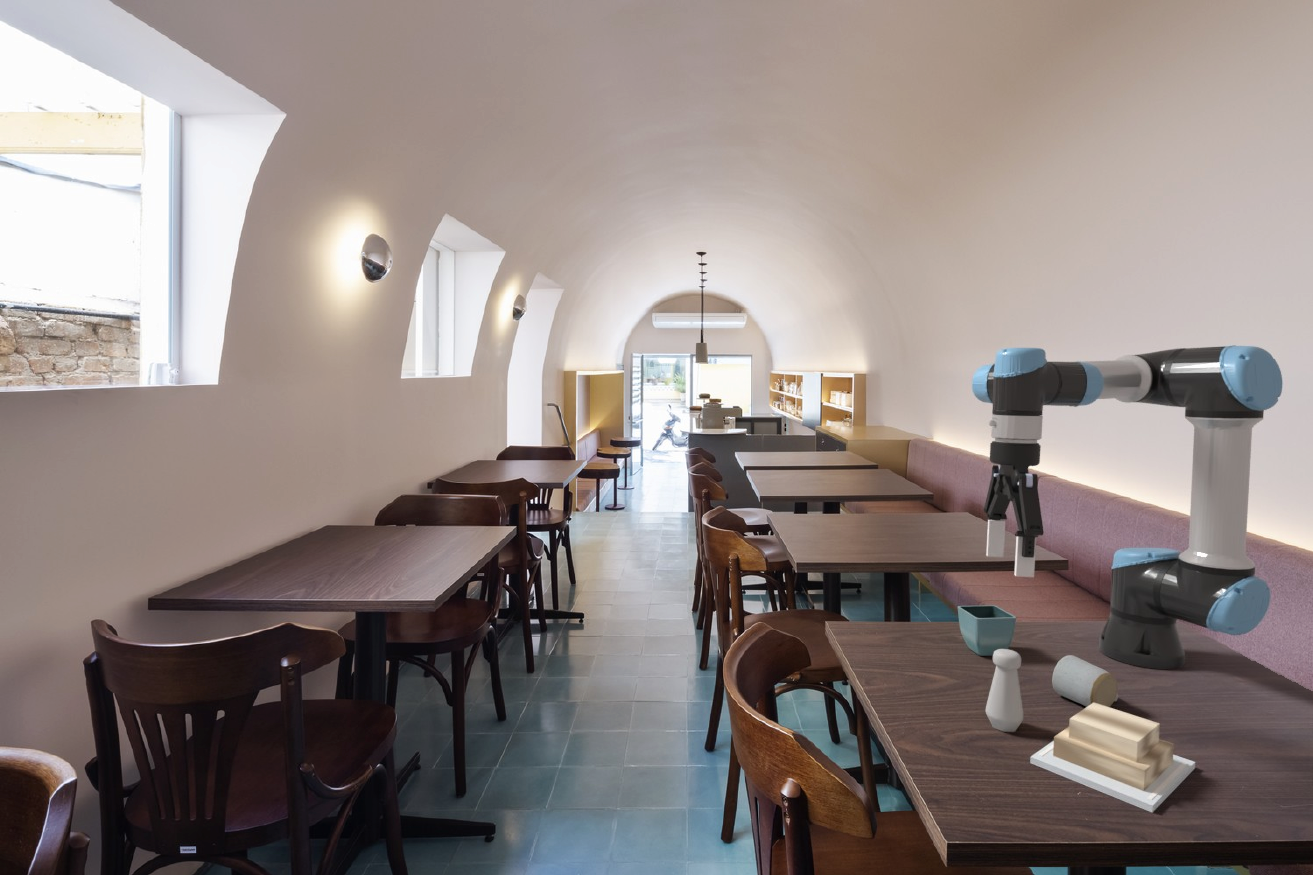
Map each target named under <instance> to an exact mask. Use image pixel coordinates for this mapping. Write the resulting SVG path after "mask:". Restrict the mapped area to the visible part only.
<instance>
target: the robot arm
mask: <svg viewBox="0 0 1313 875" xmlns="http://www.w3.org/2000/svg"><path fill="white" fill-rule="evenodd" d="M995 354H996V355H995V358H994V359H995V360H994V363H990V364H989V363H988V364H985V365H982V366H980V367H978V369H977V370H975V372H974V373H973V376H972V380H971V390H972V393H973V395H974V396H975V398H977V400H979V401H981V402H982V403H987V404H988V403H989V404H992V412H991V413H992V416H991V420H989V421H988V426H990V427H991V431H990V432H991V437H992V439H994V440H992V441H991V443H990V445H989V447H990V448H989V461H990V463H992V464H993V465H992V466H991V476H990V477H991V478H990V482H989V485H988V488H987V489H988V490H987V495H986V498H985V502H984V507H983V513H984V514H986V519H987V532H986V533H987V535H986V553H985V556H986V557H988V558H989V557H992V558H993V557H995V558H1004V557H1005V556H1004V554H1005V539H1006V536H1005V535H1006V520H1008V515H1007V513H1006V512H1007V510H1008V508H1009V505H1010V503H1011V504H1012V507H1013V512H1014V516H1015V520H1016V524H1017V528H1018V530H1016V531H1015V533H1014V536H1015V540H1016V541H1015V554H1014V555H1015V558H1014V576H1015V577H1019V578H1021V577H1023V578H1035V569H1036V568H1035V567H1036V566H1035V565H1036V549H1037V548H1036V545H1037V538H1038V537H1039V536H1041V537H1042V536H1043V535H1044V533H1045V532H1044V525H1043V518H1042V511H1041V509H1042V508H1041V504H1040V496H1039V490H1038V489H1039V488H1038V487H1039V486H1038V484H1039V482H1038V481H1039V477H1038V474H1037V473H1029V468H1030V467H1035V466H1036V467H1037V466H1038V465H1039V464H1040V462H1041V448H1042V447H1041V445H1040V443H1038V441H1039V440H1041V439H1042V438H1043V436H1042V434H1043V411H1044V406H1057V407H1062V406H1063V407H1074V408H1077V407H1079V406H1088V405H1091V404H1092V403H1094V402H1096V401H1097V400H1110V399H1111V400H1112V399H1116V400H1117V401H1119V402H1121V403H1126V404H1129V403H1139V404H1140V403H1141V404H1148V405H1149V404H1150V405H1160V406H1165V407H1174V408H1175V407H1176V408H1184V410H1185V411H1184V418H1185V419H1186V420H1187V421H1188V422H1189V423H1190V424H1191V425H1193V450H1192V469H1191V488H1190V489H1191V491H1190V493H1191V494H1190V509H1189V510H1190V511H1189V512H1190V513H1189V515H1190V516H1189V533H1188V534H1189V535H1188V548H1186V550H1184V551H1183V552H1180V551H1179V550H1177V549H1174V548H1173V549H1172V548H1164V547H1146V546H1145V547H1124V548H1123V547H1122V548H1121V549H1118V550H1116V551H1115V552H1114V554H1113V560H1112V566H1111V567H1110V568H1111V584H1110V585H1111V587H1110V609H1109V610H1110V612H1109V616H1108V619H1107V621H1106V623H1105V626H1103V630H1102V632H1101V634H1100V636H1099V639H1098V650H1099V651H1100V652H1101V653H1102V654H1103V655H1105V656H1106V657H1109V658H1111V659H1113V660H1115V661H1118V662H1121V663H1124V664H1128V665H1132V666H1137V667H1142V668H1147V669H1149V668H1150V669H1157V670H1173V669H1178V668H1179V669H1180V668H1181V667H1184V666H1185V662H1186V660H1185V659H1186V653H1185V650H1184V647H1183V643H1182V640H1181V636H1180V634H1179V631H1178V626H1177V620H1180V621H1183V622H1187V623H1189V624H1191V625H1192V624H1193V625H1195V626H1199V627H1202V628H1205V629H1208V630H1209V631H1213V632H1215V633H1223V634H1227V635H1230V636H1242V635H1245V634H1248V633H1250V632H1251V631H1253V630H1255V628H1257V627H1258V626H1259V624H1260V623H1261V622H1262V621H1263V620H1264V618H1265V616H1266V614H1267V612H1268V610H1269V606H1270V602H1271V590H1270V587H1269V585H1268V583H1267V582H1266V581H1265V580H1264V579H1262V578H1261V577H1258V576H1256V575H1255V574H1256V573H1255V572H1256V563H1255V562H1254V561H1253V560H1252V559H1250V557H1249V556H1247V554H1246V551H1247V550H1246V547H1247V545H1246V544H1247V532H1248V530H1247V528H1248V513H1249V512H1248V511H1249V495H1250V494H1249V492H1250V491H1249V490H1250V476H1251V475H1250V474H1251V473H1250V471H1251V454H1252V453H1251V452H1252V438H1253V436H1252V434H1253V428H1254V427H1255V426H1256V425H1257V424H1259V423H1260V422H1261V421H1262V420H1264V411H1267V410H1269V409H1271V408H1273V407H1275V405H1276V404H1277V403H1278V402H1279V398H1280V397H1281V395H1282V393H1283V376H1282V375H1283V374H1282V371H1281V368H1280V366H1279V364H1278V361H1277V360H1276V359H1275V358H1274V356H1273V355H1272V354H1271V353H1270V352H1269V351H1267V350H1266V349H1264V348H1262V347H1258V346H1254V345H1253V346H1252V345H1226V346H1224V345H1223V346H1208V347H1207V346H1206V347H1190V348H1186V347H1185V348H1181V347H1180V348H1172V349H1165V350H1160V351H1153V352H1149V353H1148V352H1147V353H1139V354H1127V355H1122V356H1119V357H1118V358H1116V359H1115V360H1090V361H1089V360H1085V361H1081V360H1080V361H1079V360H1078V361H1048V360H1047V359H1046V358H1047V356H1046V355H1047V354H1046V351H1045V350H1044V349H1043V348H1040V347H1006V348H1001V349H999V350H998V351H997V352H996V353H995Z"/></svg>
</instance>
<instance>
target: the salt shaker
mask: <svg viewBox="0 0 1313 875" xmlns="http://www.w3.org/2000/svg"><path fill="white" fill-rule="evenodd" d="M992 663H993V664H994V665H995V669H994V673H993V677H992V681H991V686H990V689H989V693H988V698H987V701H986V706H985V713H986V716H987V718H988V720H989V722H990V723H991V727H992V728H993V729H995V730H998V731H999V732H1000V731H1001V732H1003V733H1004V732H1005V733H1015V732H1016V731H1017V729H1018V728H1019V726H1021V723H1022V722H1023V721H1024V715H1025V714H1024V710H1023V709H1024V707H1023V701H1022V700H1023V699H1022V696H1021V695H1022V694H1021V685H1020V680H1019V679H1020V678H1019V672H1018V669H1020V667H1021V665H1022V657H1021V654H1020V653H1018V652H1017V651H1016V650H1013V649H1009V648H1008V649H998V650H996V651H994V654H993V655H992Z"/></svg>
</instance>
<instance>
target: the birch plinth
mask: <svg viewBox="0 0 1313 875" xmlns="http://www.w3.org/2000/svg"><path fill="white" fill-rule="evenodd" d="M1068 722H1069V723H1068V724H1069V725H1068V727H1066V728H1065V729H1064V730H1062V731H1060V732H1059V733H1058V734H1056V735H1054V736H1053V741H1054V746H1053V756H1055V757H1057V758H1060V759H1063V760H1065V761H1068V762H1070V763H1073V764H1075V765H1078V766H1080V767H1083V768H1086V769H1088V770H1091V771H1093V772H1096V773H1098V774H1101V775H1104V776H1106V777H1109V778H1111V779H1114V780H1116V781H1119V782H1121V783H1124V784H1127V785H1129V786H1132V787H1134V788H1137V789H1139V790H1142V791H1144V790H1145V789H1146V788H1147V787H1148V786H1149V785H1151V784H1152V783H1153V782H1154V781H1155V780H1156V779H1157V778H1158V777H1159V776H1160V775H1161V774H1162V773H1163V772H1164V771H1165V770H1166V769H1167V768H1168V767H1169V766H1170V765H1171V764H1172V763H1173V755H1174V750H1175V749H1174V748H1175V743H1173V742H1170V741H1167V740H1164V739H1161V738H1160V727H1161V724H1160V723H1159V722H1156V721H1152V720H1151V719H1147V718H1144V717H1140V716H1138V715H1134V714H1131V713H1129V712H1125V711H1122V710H1118V709H1115V708H1112V707H1111V706H1110V707H1107V706H1104V705H1100V704H1097V703H1092V704H1091V705H1089V706H1088V707H1086V706H1085V708H1083V709H1082V710H1080V711H1079V712H1077V713H1075V714H1074V715H1073V716H1071V717H1069V721H1068Z"/></svg>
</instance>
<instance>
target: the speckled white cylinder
mask: <svg viewBox="0 0 1313 875" xmlns="http://www.w3.org/2000/svg"><path fill="white" fill-rule="evenodd" d="M1051 682H1052V687H1053V690H1054V691H1055V693H1056V694H1057V695H1059V696H1062V697H1064V698H1066V699H1069V700H1071V701H1073V702H1075V703H1078V704H1080V705H1082V706H1085V708H1086V707H1088V706H1089V705H1091V704H1092V703H1097V704H1100V705H1104V706H1107V707H1110V708H1111V706H1112V705H1113V704H1114V702H1117V701H1118V698H1119V696H1120V693H1118V689H1119V686H1118V681H1117V679H1116V677H1115V676H1114V675H1113V674H1112V673H1110V672H1109V671H1107V670H1105V669H1103V668H1101V667H1099V666H1097V665H1094V664H1092V663H1090V662H1088V661H1086V660H1084V659H1082V658H1079V657H1077V656H1076V655H1073V654H1072V655H1071V654H1069V655H1065V656H1063V657H1062V658H1061V659H1059V661H1058V662H1057V664H1056V665H1055V667H1054V669H1053V673H1052V678H1051Z"/></svg>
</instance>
